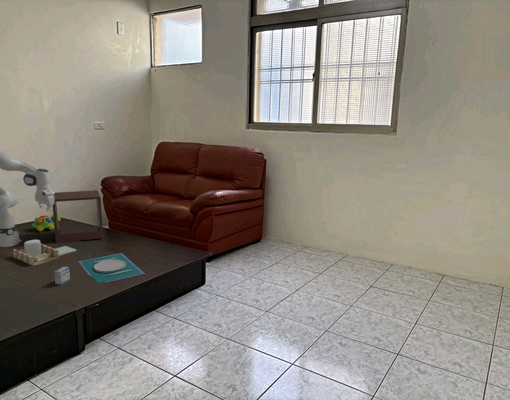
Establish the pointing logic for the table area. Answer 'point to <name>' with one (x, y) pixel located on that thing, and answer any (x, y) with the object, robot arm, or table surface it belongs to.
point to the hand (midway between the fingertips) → (44, 209)
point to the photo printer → (32, 248)
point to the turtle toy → (44, 222)
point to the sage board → (65, 250)
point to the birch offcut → (41, 257)
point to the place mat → (110, 268)
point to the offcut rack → (30, 259)
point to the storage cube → (81, 232)
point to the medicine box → (62, 275)
